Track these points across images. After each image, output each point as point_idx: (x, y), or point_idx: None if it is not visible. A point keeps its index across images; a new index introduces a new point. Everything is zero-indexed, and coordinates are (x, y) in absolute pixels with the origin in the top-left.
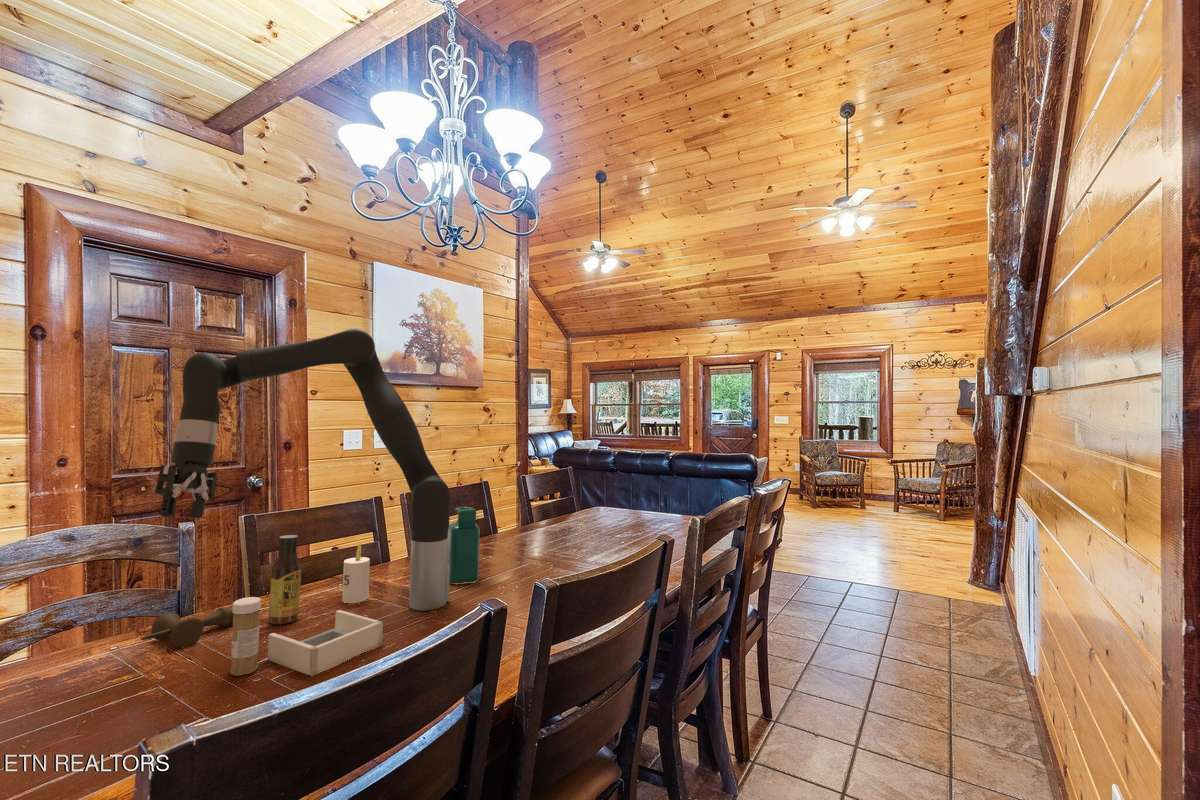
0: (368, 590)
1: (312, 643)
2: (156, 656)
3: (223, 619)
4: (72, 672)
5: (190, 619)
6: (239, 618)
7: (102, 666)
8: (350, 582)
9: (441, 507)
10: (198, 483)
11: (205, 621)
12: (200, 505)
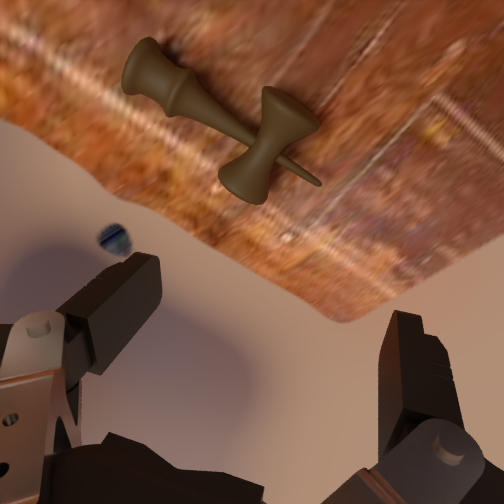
0: None
1: None
2: (339, 133)
3: (195, 77)
4: (387, 232)
5: (290, 107)
6: None
7: (371, 202)
8: None
9: None
10: (62, 496)
11: (222, 109)
12: (110, 308)
